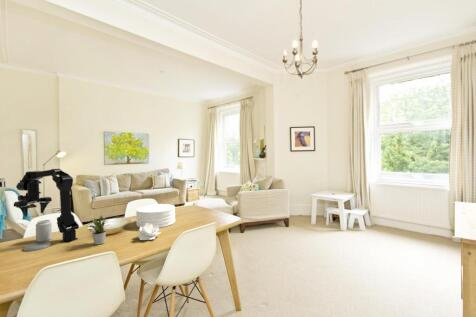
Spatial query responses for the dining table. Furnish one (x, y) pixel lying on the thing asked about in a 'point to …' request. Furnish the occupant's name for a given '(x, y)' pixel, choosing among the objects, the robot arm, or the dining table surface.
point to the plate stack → (156, 215)
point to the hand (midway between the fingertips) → (34, 215)
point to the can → (43, 230)
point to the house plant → (98, 230)
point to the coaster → (37, 246)
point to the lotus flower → (148, 232)
